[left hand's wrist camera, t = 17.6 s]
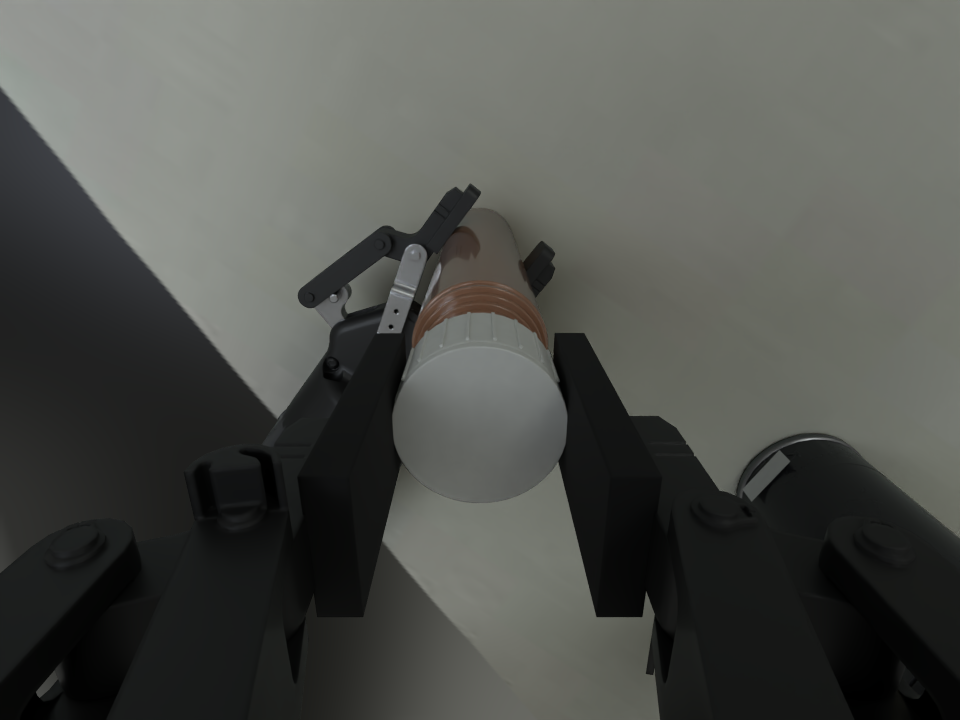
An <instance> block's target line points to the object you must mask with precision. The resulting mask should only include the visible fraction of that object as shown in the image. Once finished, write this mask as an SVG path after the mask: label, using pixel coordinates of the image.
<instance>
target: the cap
mask: <svg viewBox="0 0 960 720" xmlns="http://www.w3.org/2000/svg"><path fill="white" fill-rule="evenodd" d="M559 382H560V380H559V377H558V374H557V371H556V368H555V365H554V362H553V359H552V356H551V353H550V351H549V349H548V350H546V348H545V347H544V345H543V344H542V342H541V341H540V340H539V339H538V337H537V334H536V333H535V332H533V333H532V332H531V331H530V330H529V329H528V328H526V327H525V326H523V325H522V324H520V323H518V320H516V319H514V320H512V319H510V318H507V317H505V316H501V315H497V314H495V313H494V312H491V314H490V313H471V312H467V314H463V315H459V316H456V317H453V318H450V319H447V318H446V319H444V321H443V322H442V323H440V324H438V325H436V326H435V327H434V328H432V329H431V330H430V331H426V332H425V334H424V336H423V337H422V338H421V340H420V341H419V342H418V344H417V345H416V346H415V348H412V349H411V351H410V354H409V357H408V360H407V363H406V366H405V369H404V372H403V375H402V378H401V382H400V385H399V388H398V391H397V394H396V397H395V403H394V407H393V412H392V423H393V438H394V445H395V448H396V450H397V453H398V455H399V457H400V459H401V461H402V462H403V464H404V465H405V467H406V468H407V469H408V471H409V472H410V473H411V474H412V475H413V476H414V477H415V478H416V479H417V480H418V481H419V482H420V483H422V484H423V485H424V486H426V487H427V488H429V489H430V490H432V491H434V492H436V493H438V494H440V495H442V496H445V497H448V498H451V499H454V500H458V501H463V502H471V503H490V502H498V501H502V500H506V499H510V498H512V497H515V496H518V495H520V494H522V493H524V492H526V491H528V490H530V489H531V488H533V487H534V486H536V485H537V484H538V483H539V482H541V481H542V480H543V479H544V478H545V477H546V476H547V475H548V474H549V473H550V472H551V471H552V469H553V468H554V467H555V465H556V464H557V462H558V461H559V459H560V457H561V455H562V453H563V450H564V447H565V445H566V433H567V417H568V412H567V408H566V404H565V400H564V397H563V394H562V391H561V388H560V385H559Z"/></svg>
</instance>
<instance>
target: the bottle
mask: <svg viewBox="0 0 960 720" xmlns="http://www.w3.org/2000/svg"><path fill="white" fill-rule="evenodd" d="M467 312H471V313H490V314H491V312H494V313H495V314H497V315H501V316H505V317H507V318H510V319H512V320H514V319H516V320H518V323H520V324H522V325H523V326H525V327H526V328H528V329H529V330H530V331H531V332H532V333H533V332H535V333H536V334H537V337H538V339H539V340H540V341H541V342H542V344H543V345H544V347H545V348H546V350H548V336H547V330H546V327H545V324H544V321H543V318H542V315H541V312H540V310H539V307H538V304H537V301H536V298H535V296H534V293H533V290H532V287H531V284H530V282H529V279H528V276H527V273H526V270H525V268H524V265H523V262H522V259H521V256H520V254H519V251H518V248H517V245H516V242H515V240H514V237H513V234H512V231H511V229H510V226H509V225H508V223H507V221H506V220H505V219H504V218H503V217H502V216H501V215H499V214H498V213H496V212H494V211H492V210H489V209H485V208H475V209H470V210H469V211H468V213H467V214H466V215H465V217H464V218H463V219H462V221H461V222H460V224H459V225H458V226H457V228H456V229H455V230H454V232H453V233H452V234H451V236H450V237H449V238H448V240H447V241H446V242H445V244H444V245H443V247H442V250H441V253H440V256H439V259H438V261H437V264H436V267H435V270H434V273H433V275H432V278H431V281H430V284H429V287H428V289H427V292H426V295H425V298H424V301H423V303H422V306H421V309H420V312H419V315H418V318H417V320H416V323H415V327H414V330H413V335H412V348H415V346H416V345H417V344H418V342H419V341H420V340H421V338H422V337H423V336H424V334H425V332H426V331H430V330H431V329H432V328H434V327H435V326H436V325H438V324H440V323H442V322H443V321H444V319H446V318H447V319H450V318H453V317H456V316H459V315H463V314H467Z"/></svg>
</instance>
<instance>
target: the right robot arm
mask: <svg viewBox="0 0 960 720" xmlns="http://www.w3.org/2000/svg"><path fill="white" fill-rule="evenodd" d="M480 194H481V191H479V190H478V189H477V188H476V187H474V186H473V185H472V184H471V183H470V184H469V186H468V187H467V188H466V190H465V191H464V192H462V191H461V190H459V189H458V188H457V187H454V188H453V189H451V190H450V191H448V192H447V193H446V194H445V196H444V197H443V199H442V200H441V201H440V203H439V204H438V206H437V207H436V208H435V210H434V211H433V213H432V214H431V215H430V217H429V218H428V220H427V221H426V223H425V224H424V225H423V227H422V228H421V229H420V230H419V231H418V232H416V233H414V234H406V233H403V232H399V231H396V230H395V229H394V228H393V227H391V226H382V227H380V228H379V229H378V230H376V231H375V232H374V233H372V234H371V235H370V236H368V237H367V238H366V239H364V240H363V241H362V242H361V243H359V244H358V245H357V246H355V247H354V248H353V249H351V250H350V251H349V252H347V253H346V254H345V255H343V256H342V257H341V258H339V259H338V260H337V261H336V262H334V263H333V264H332V265H330V266H329V267H328V268H326V269H325V270H324V271H322V272H321V273H320V274H318V275H317V276H316V277H315V278H313V279H312V280H311V281H310V282H308V283H307V284H306V285H305V286H303V287H302V288H301V289H300V290H299V292H298V299H299V301H300V303H301V304H302V305H303V306H305V307H307V308H315V309H316V310H317V311H318V312H319V313H320V315H321V316H322V317H323V318H324V319H325V321H326V322H327V323H328V324H329V325H330V326H331V328H332V330H331V332H330V343H329V348H328V351H327V352H326V354H325V355H324V356H323V358H322V359H321V361H320V362H319V364H318V365H317V366H316V368H315V369H314V371H313V372H312V373H311V375H310V376H309V378H308V379H307V381H306V382H305V383H304V385H303V386H302V388H301V389H300V390H299V392H298V393H297V395H296V396H295V397H294V399H293V400H292V402H291V403H290V405H289V406H288V407H287V409H286V410H285V411H284V412H283V413H282V414H281V415H280V416H279V418H278V421H277V423H276V424H275V426H274V427H273V429H272V430H271V432H270V433H269V434H268V436H267V438H266V439H265V441H264V442H263V444H262V445H265V446H269V447H274V443H275V442H276V440H277V439H278V437H279V436H280V434H281V433H282V431H283V430H284V429H286V428H287V427H289V426H290V425H292V424H293V423H295V422H296V421H298V420H299V419H301V418H330V416H331V414H332V412H333V410H334V408H335V407H336V405H337V403H338V401H339V399H340V397H341V396H342V394H343V392H344V390H345V388H346V386H347V385H348V383H349V381H350V379H351V377H352V375H353V374H354V372H355V370H356V368H357V366H358V364H359V363H360V361H361V359H362V357H363V355H364V353H365V352H366V350H367V348H368V346H369V344H370V342H371V341H372V339H373V337H374V335H375V333H405V345H406V363H407V360H408V357H409V354H410V351H411V349H412V335H413V330H414V327H415V323H416V320H417V318H418V315H419V312H420V309H421V305H420V304H418V303H417V302H415V301H414V298H415V295H416V292H417V289H418V286H419V283H420V280H421V277H422V274H423V271H424V268H425V266H426V263H427V261H428V259H429V258H430V256H431V255H432V254H433V252H435V253H436V254H438V252H439V251H440V249H441V248H442V247H443V245H444V244H445V242H446V241H447V240H448V238H449V237H450V236H451V234H452V233H453V232H454V230H455V229H456V228H457V226H458V225H459V224H460V222H461V221H462V219H463V218H464V217H465V215H466V214H467V213H468V211H469V210H470V209H471V207H472V206H473V204H474V203H475V202H476V200H477V199H478V197H479V196H480ZM554 255H555V252H554V251H553V249H552V248H550V247H549V246H548V245H547V244H545V243H544V242H543V241H541V242H540V243H539V244H538V245H537V246H536V247H535V248H534V250H533V251H532V252H531V253H530V255H529V256H528V257H527V258H526V260H525V261H524V262H523V265H524V268H525V270H526V273H527V276H528V279H529V282H530V284H531V287H532V290H533V293H534V296H535V298H536V297H537V295H538V294H539V293H540V292H541V291H542V289H543V288H544V287H545V286H546V284H547V283H548V282H549V281H550V280H551V278H552V276H553V273H554V270H555V267H554V266H553V264H552V263H551V260H552V259H553V257H554ZM384 256H386V257H389V258H392V259H395V260H399V261H401V263H400V266H399V269H398V272H397V275H396V278H395V281H394V284H393V286H392V289H391V291H390V294H389V297H388V300H387V303H383V304H380V305H376V306H373V307H370V308H366V309H363V310H360V311H356V312H353V313H349V314H347V312H346V310H345V303H346V301H347V300H348V299H349V298H350V296H351V293H352V290H351V287H350V285H349V284H348V283H349V282H350V281H351V280H353V279H354V278H355V277H357V276H358V275H359V274H361V273H362V272H363V271H365V270H366V269H367V268H369V267H370V266H371V265H373V264H374V263H376V262H377V261H378V260H380V259H381V258H382V257H384ZM402 464H403V462H402V461H401V465H402ZM401 465H400V466H401ZM737 497H739V498H742V499H744V500H745V501H747V502H748V503H750V504H751V505H752V506H754V507H755V508H757V509H758V511H759V512H760V513H761V515H762V516H763V517H764V519H765V520H766V522H767V525H768V527H769V528H771V529H775V530H779V531H783V532H787V533H792V534H797V535H802V536H807V537H811V538H816V539H821V540H824V538H825V534H826V531H827V527H828V525H829V524H830V523H831V522H832V521H833V520H835V519H836V518H840V517H846V516H861V517H871V518H876V519H879V520H881V521H882V520H884V521H887V522H890V523H893V524H895V525H896V526H898V527H901V528H903V529H905V530H907V531H909V532H912V533H913V534H915V535H916V536H918V537H919V538H921V539H922V540H924V541H925V542H927V543H928V544H929V545H931V546H932V547H933V548H934V549H935V550H937V551H938V552H939V553H940V554H941V555H943V556H944V557H945V558H946V559H947V560H948V561H950V562H951V563H952V564H953V565H954V566H956V567H957V568H958V569H959V570H960V538H959V537H958V536H957V535H955V534H954V533H953V532H952V531H950V530H949V529H948V528H947V527H946V526H944V525H943V524H942V523H941V522H940V521H938V520H937V519H936V518H935V517H934V516H932V515H931V514H930V513H929V512H927V511H926V510H925V509H924V508H923V507H921V506H920V505H919V504H918V503H917V502H915V501H914V500H913V499H912V498H910V497H909V496H908V495H907V494H906V493H904V492H903V491H902V490H901V489H900V488H898V487H897V486H896V485H895V484H893V483H892V482H891V481H890V480H889V479H887V478H886V477H885V476H884V475H883V474H882V473H880V472H879V471H878V470H877V469H876V468H874V467H873V466H872V465H871V464H869V463H868V462H867V461H866V460H864V459H863V458H862V456H861V455H860V454H859V453H858V452H857V451H856V450H855V449H854V448H852V447H851V446H850V445H849V444H847V443H846V442H844V441H842V440H841V439H838V438H836V437H833V436H829V435H824V434H803V435H797V436H793V437H790V438H787V439H784V440H782V441H779V442H777V443H775V444H773V445H772V446H770V447H768V448H767V449H765V450H764V451H762V452H761V453H760V454H759V455H758V456H757V457H756V458H755V459H754V460H753V461H752V462H751V463H750V464H749V465H748V467H747V468H746V470H745V471H744V473H743V475H742V477H741V479H740V482H739V485H738V489H737ZM902 677H903V678H904V680H905V681H906V682H907V683H908V684H909V686H910V687H911V688H912V689H913V690H914V691H915V692H916V693H918V694H919V695H920V696H921V695H922V694H923V693H924V690H925V688H924V687H923V686H922V685H921V684H920V683H919V682H918V680H917V679H916V678H915V677H914V676H913V675H912V673H911V672H910V671H909V670H908V669H907V668H905V671H904V673H903V676H902Z"/></svg>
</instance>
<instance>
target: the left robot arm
mask: <svg viewBox="0 0 960 720" xmlns="http://www.w3.org/2000/svg"><path fill="white" fill-rule="evenodd" d="M553 362H554V365H555V368H556V371H557V374H558V377H559V380H560V382H559V385H560V388H561V391H562V394H563V397H564V400H565V404H566V408H567V412H568V417H567V433H566V445H565V447H564V450H563V453H562V455H561V457H560V459H559V461H558V462H559V466H560V470H561V474H562V478H563V482H564V486H565V491H566V495H567V499H568V503H569V507H570V511H571V515H572V519H573V523H574V527H575V531H576V535H577V539H578V543H579V548H580V552H581V556H582V560H583V564H584V568H585V572H586V576H587V580H588V584H589V588H590V592H591V596H592V601H593V605H594V609H595V613H596V617H642V616H643V609H644V602H645V595H646V591H647V594H648V597H649V600H650V602H651V605H652V608H653V610H654V613H655V617H654V624H653V630H652V637H651V643H650V650H649V656H648V663H647V670H646V674H650V675H653V673H654V668H655V677H656V686H657V695H658V704H659V714H660V720H960V570H959V569H958V568H957V567H956V566H954V565H953V564H952V563H951V562H950V561H948V560H947V559H946V558H945V557H944V556H943V555H941V554H940V553H939V552H938V551H937V550H935V549H934V548H933V547H932V546H931V545H929V544H928V543H927V542H925V541H924V540H922V539H921V538H919V537H918V536H916V535H915V534H913V533H912V532H909V531H907V530H905V529H903V528H901V527H898V526H896V525H895V524H893V523H890V522H887V521H884V520H882V521H881V520H879V519H876V518H871V517H861V516H846V517H840V518H836V519H835V520H833V521H832V522H831V523H830V524H829V525H828V527H827V531H826V534H825V538H824V540H821V539H816V538H811V537H807V536H802V535H797V534H792V533H787V532H783V531H779V530H775V529H771V528H769V527H768V525H767V522H766V520H765V519H764V517H763V516H762V515H761V513H760V512H759V511H758V509H757V508H755V507H754V506H752V505H751V504H750V503H748V502H747V501H745V500H744V499H742V498H739V497H737V496H735V495H732V494H730V493H727V492H723V491H719V489H718V488H717V486H716V485H715V484H714V482H713V481H712V479H711V478H710V476H709V475H708V473H707V472H706V470H705V469H704V468H703V466H702V465H701V463H700V462H699V460H698V459H697V457H696V456H694V453H693V452H692V450H691V449H690V447H689V446H688V445H686V441H685V440H684V438H683V437H682V436H681V434H680V433H679V431H678V430H677V428H676V427H674V426H672V425H671V424H669V423H668V422H666V421H665V420H663V419H662V418H660V417H659V416H629V415H628V413H627V411H626V409H625V407H624V405H623V404H622V402H621V400H620V398H619V396H618V394H617V393H616V391H615V389H614V387H613V385H612V383H611V382H610V380H609V378H608V376H607V374H606V372H605V371H604V369H603V367H602V365H601V363H600V361H599V360H598V358H597V356H596V354H595V352H594V350H593V349H592V347H591V345H590V343H589V341H588V339H587V338H586V336H585V334H584V333H555V338H554V357H553ZM405 366H406V345H405V333H375V335H374V337H373V339H372V341H371V342H370V344H369V346H368V348H367V350H366V352H365V353H364V355H363V357H362V359H361V361H360V363H359V364H358V366H357V368H356V370H355V372H354V374H353V375H352V377H351V379H350V381H349V383H348V385H347V386H346V388H345V390H344V392H343V394H342V396H341V397H340V399H339V401H338V403H337V405H336V407H335V408H334V410H333V412H332V414H331V416H330V418H301V419H299V420H298V421H296V422H295V423H293V424H292V425H290V426H289V427H287V428H286V429H284V430H283V431H282V433H281V434H280V436H279V437H278V439H277V440H276V442H275V443H274V447H269V446H265V445H261V444H241V445H235V446H229V447H224V448H221V449H219V450H216V451H213V452H210V453H208V454H206V455H204V456H202V457H201V458H199V459H197V460H196V461H194V462H193V463H192V464H191V465H190V466H189V467H188V468H187V469H186V470H185V471H184V475H185V480H186V484H187V488H188V493H189V497H190V501H191V506H192V510H193V514H194V519H195V521H194V523H193V526H192V528H191V530H190V531H186V532H183V533H179V534H175V535H170V536H166V537H160V538H155V539H150V540H146V541H141V542H136V539H135V536H134V532H133V529H132V527H131V526H130V525H129V524H127V523H126V522H125V521H123V520H117V519H112V518H105V519H94V520H87V521H82V522H81V523H75V524H72V525H69V526H67V527H65V528H63V529H61V530H59V531H57V532H54V533H52V534H50V535H48V536H47V537H45V538H44V539H42V540H41V541H39V542H38V543H36V544H35V545H33V546H32V547H31V548H29V549H28V550H27V551H26V552H25V553H24V554H22V555H21V556H20V557H19V558H18V559H16V560H15V561H14V562H13V563H12V564H11V565H9V566H8V567H7V568H6V569H5V570H4V571H2V572H1V573H0V720H300V715H301V706H302V696H303V687H304V678H305V669H306V660H307V651H308V641H309V637H308V631H307V624H306V618H305V615H306V612H307V609H308V607H309V604H310V601H311V599H312V596H313V593H314V597H315V604H316V611H317V617H363V615H364V611H365V607H366V603H367V599H368V595H369V591H370V587H371V583H372V579H373V575H374V570H375V566H376V562H377V558H378V554H379V550H380V546H381V542H382V538H383V534H384V530H385V526H386V522H387V518H388V514H389V509H390V505H391V501H392V497H393V493H394V489H395V485H396V481H397V477H398V473H399V469H400V465H401V459H400V457H399V455H398V453H397V450H396V448H395V445H394V438H393V423H392V412H393V407H394V403H395V397H396V394H397V391H398V388H399V385H400V382H401V378H402V375H403V372H404V369H405ZM905 668H907V669H908V670H909V671H910V672H911V673H912V675H913V676H914V677H915V678H916V679H917V680H918V682H919V683H920V684H921V685H922V686H923V687H924V688H925V690H924V693H923V694H922V695H921V696H920V695H919V694H918V693H916V692H915V691H914V690H913V689H912V688H911V687H910V686H909V684H908V683H907V682H906V681H905V680H904V678H903V677H902V676H903V673H904V671H905ZM54 670H55V672H56V675H57V677H58V680H57V681H56V682H55V684H54V685H53V686H52V687H51V688H50V690H48V691H47V692H46V693H45V694H44V695H43V696H42V697H40V698H39V697H38V696H37V694H36V691H37V690H38V689H39V687H40V686H41V685H42V684H43V683H44V682H45V680H46V679H47V678H48V677H49V676H50V675H51V673H52V672H53V671H54Z"/></svg>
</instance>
